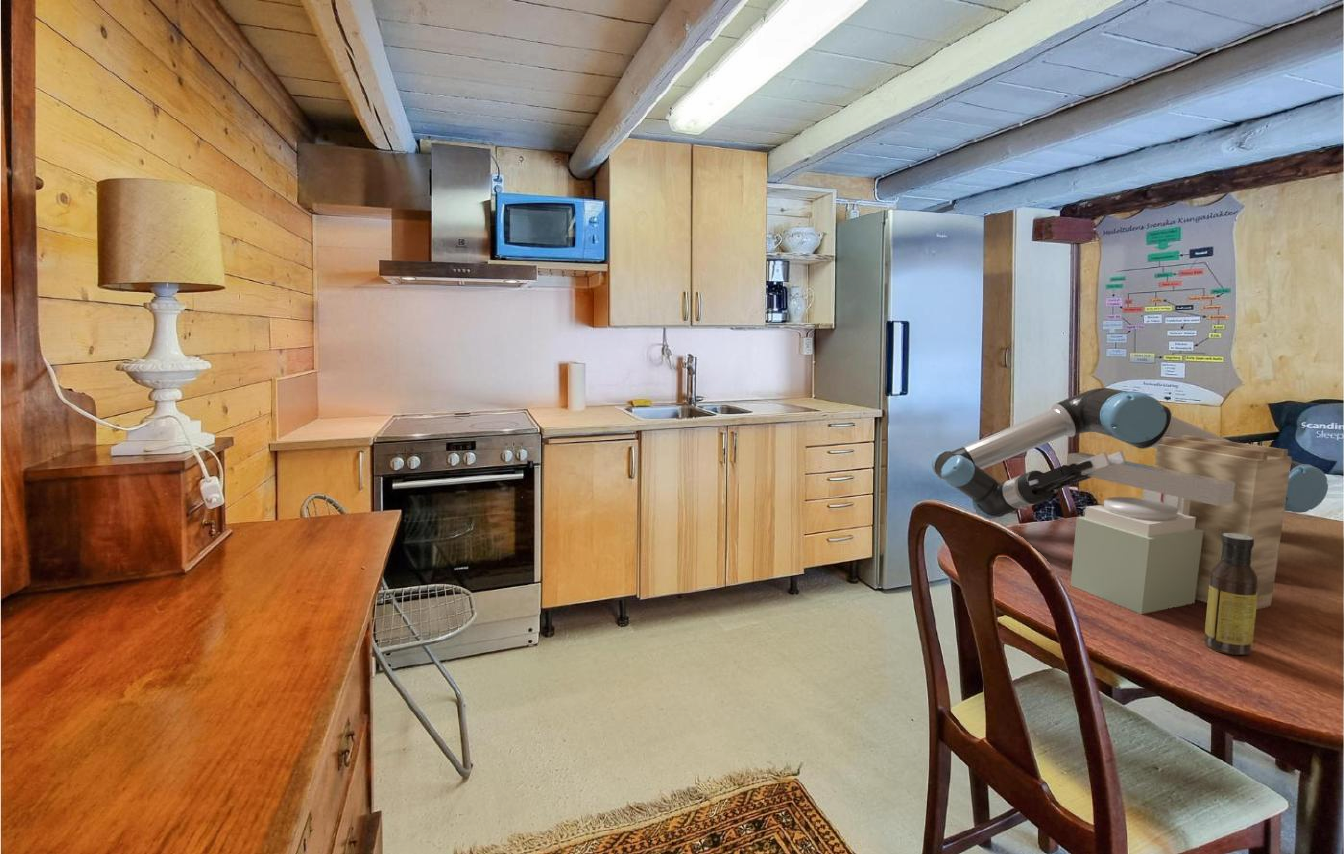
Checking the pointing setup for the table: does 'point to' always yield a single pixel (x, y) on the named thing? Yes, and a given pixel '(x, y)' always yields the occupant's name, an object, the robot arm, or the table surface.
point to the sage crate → (1136, 566)
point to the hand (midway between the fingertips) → (1115, 457)
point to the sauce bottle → (1232, 598)
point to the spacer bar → (1162, 480)
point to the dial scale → (1145, 514)
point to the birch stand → (1235, 501)
